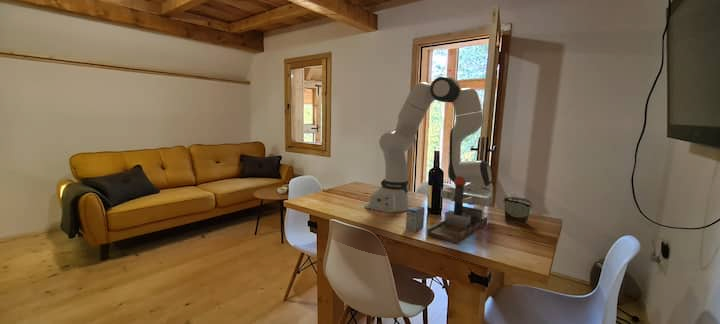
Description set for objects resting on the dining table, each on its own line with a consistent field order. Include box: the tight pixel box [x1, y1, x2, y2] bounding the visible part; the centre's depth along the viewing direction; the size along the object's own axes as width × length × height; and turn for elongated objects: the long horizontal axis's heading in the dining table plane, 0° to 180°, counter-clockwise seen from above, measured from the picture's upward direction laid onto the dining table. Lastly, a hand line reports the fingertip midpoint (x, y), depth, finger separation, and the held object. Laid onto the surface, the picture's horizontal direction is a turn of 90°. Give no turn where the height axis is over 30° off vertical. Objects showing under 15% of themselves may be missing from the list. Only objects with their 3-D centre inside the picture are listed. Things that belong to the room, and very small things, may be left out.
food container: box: [502, 196, 533, 226], centre depth 138 cm, size 12×6×10 cm, turn 34°
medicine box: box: [405, 204, 425, 232], centre depth 127 cm, size 8×4×9 cm, turn 145°
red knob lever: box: [444, 176, 471, 230], centre depth 123 cm, size 4×9×20 cm, turn 48°
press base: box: [426, 205, 488, 246], centre depth 126 cm, size 30×12×7 cm, turn 138°
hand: (457, 200), depth 123 cm, fingers closed on red knob lever, 3 cm apart
